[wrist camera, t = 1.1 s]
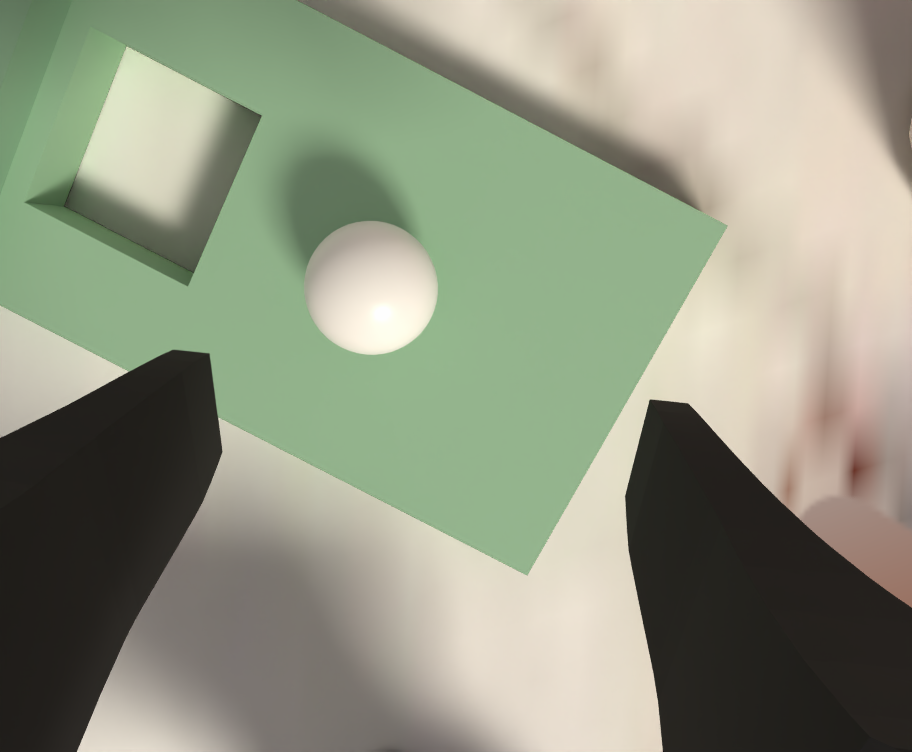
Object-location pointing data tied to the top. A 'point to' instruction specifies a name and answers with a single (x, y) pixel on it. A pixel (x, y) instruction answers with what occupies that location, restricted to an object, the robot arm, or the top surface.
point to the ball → (370, 287)
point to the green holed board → (331, 207)
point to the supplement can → (910, 133)
